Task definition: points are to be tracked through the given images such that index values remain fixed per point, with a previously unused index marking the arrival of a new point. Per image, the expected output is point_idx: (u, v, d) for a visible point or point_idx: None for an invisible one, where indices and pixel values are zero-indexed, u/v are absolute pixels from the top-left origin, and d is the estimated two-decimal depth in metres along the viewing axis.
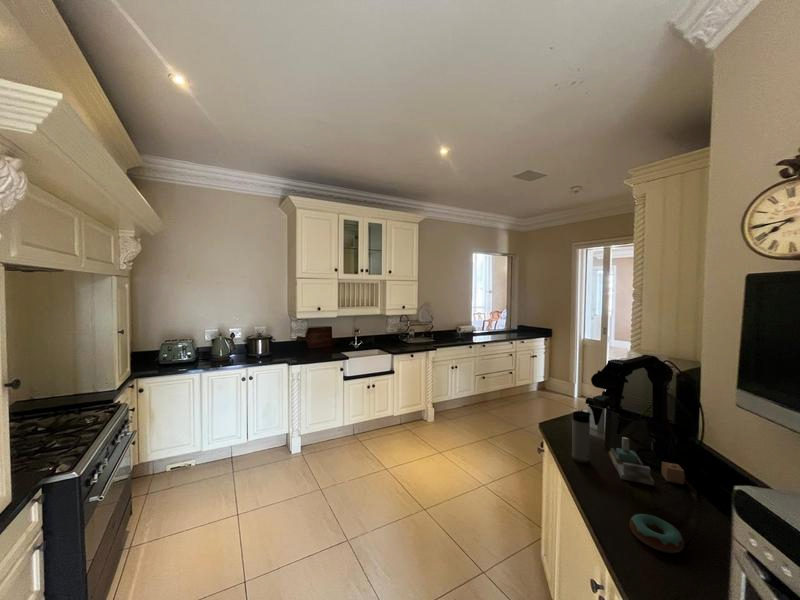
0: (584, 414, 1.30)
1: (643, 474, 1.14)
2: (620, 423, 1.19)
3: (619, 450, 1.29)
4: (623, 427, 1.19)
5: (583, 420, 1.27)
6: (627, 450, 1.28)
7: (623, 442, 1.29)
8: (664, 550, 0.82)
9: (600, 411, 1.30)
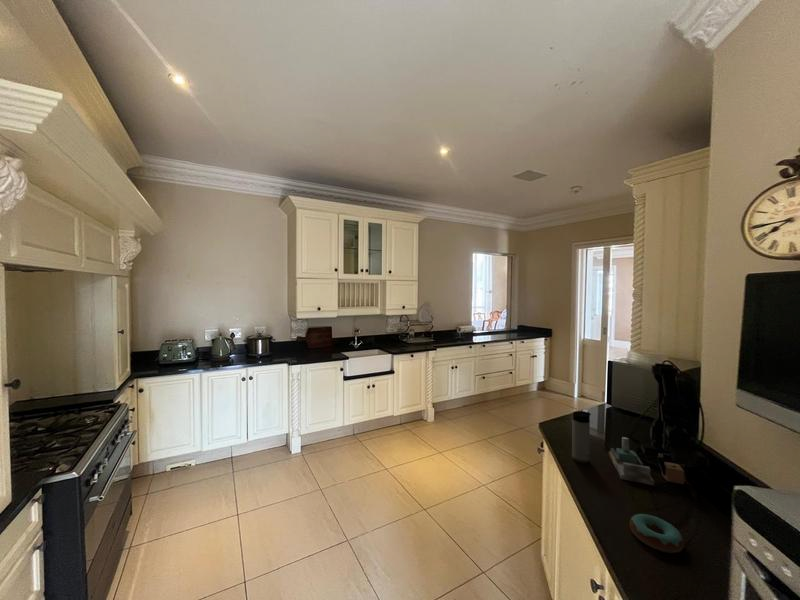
0: (584, 414, 1.30)
1: (643, 474, 1.14)
2: (686, 468, 1.14)
3: (619, 450, 1.29)
4: None
5: (583, 420, 1.27)
6: (627, 450, 1.28)
7: (623, 442, 1.29)
8: (664, 550, 0.82)
9: None
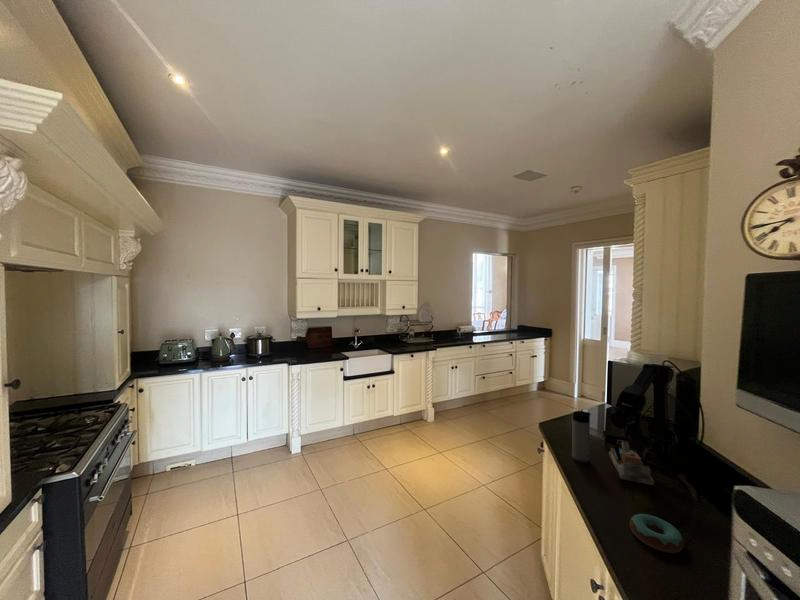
0: (584, 414, 1.30)
1: (643, 474, 1.14)
2: (648, 455, 1.19)
3: (619, 450, 1.29)
4: None
5: (583, 420, 1.27)
6: (627, 450, 1.28)
7: (623, 442, 1.29)
8: (664, 550, 0.82)
9: None
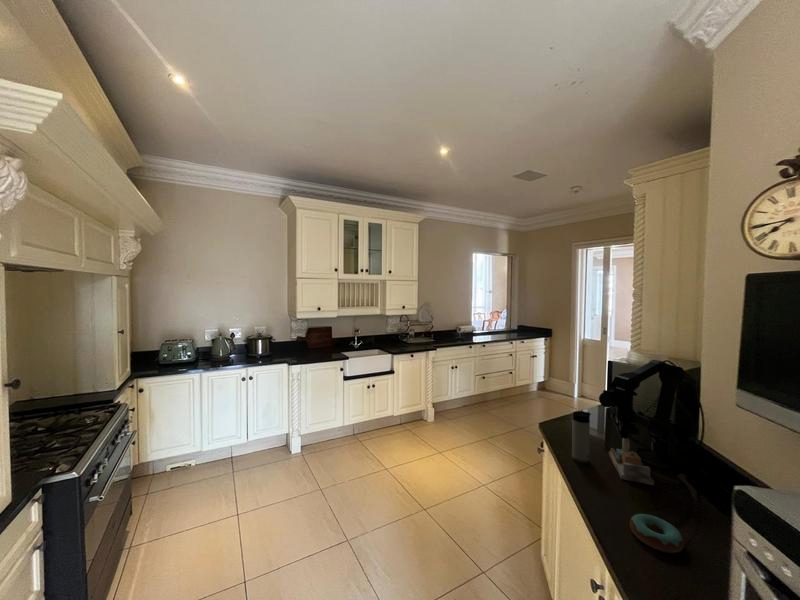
0: (584, 414, 1.30)
1: (643, 474, 1.14)
2: None
3: (619, 451, 1.29)
4: None
5: (583, 420, 1.27)
6: (627, 451, 1.28)
7: (623, 443, 1.28)
8: (664, 550, 0.82)
9: None
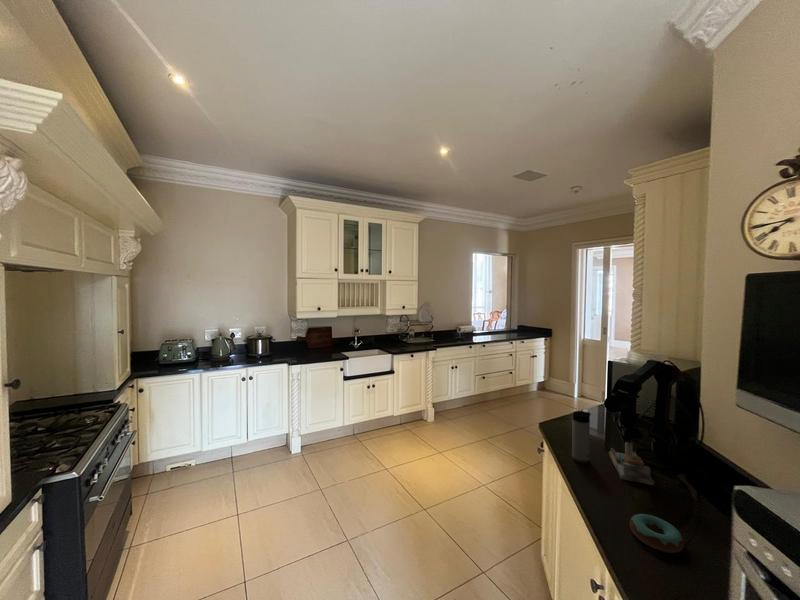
0: (584, 414, 1.30)
1: (643, 474, 1.14)
2: None
3: (622, 455, 1.25)
4: None
5: (583, 420, 1.27)
6: None
7: (626, 447, 1.25)
8: (664, 550, 0.82)
9: None
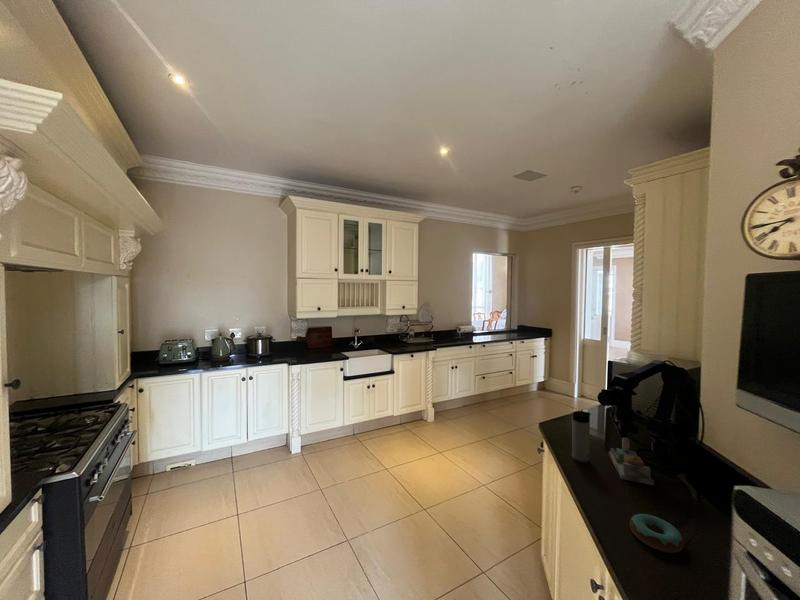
0: (584, 414, 1.30)
1: (643, 474, 1.14)
2: None
3: (619, 450, 1.29)
4: None
5: (583, 420, 1.27)
6: (627, 450, 1.28)
7: (623, 442, 1.29)
8: (664, 550, 0.82)
9: None
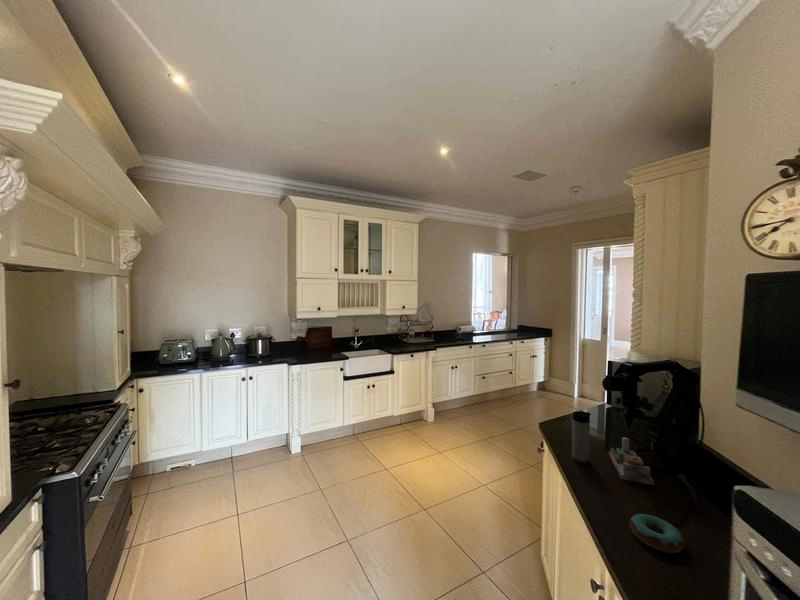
0: (584, 414, 1.30)
1: (643, 474, 1.14)
2: None
3: (619, 450, 1.29)
4: None
5: (583, 420, 1.27)
6: (627, 450, 1.28)
7: (623, 442, 1.29)
8: (664, 550, 0.82)
9: None
